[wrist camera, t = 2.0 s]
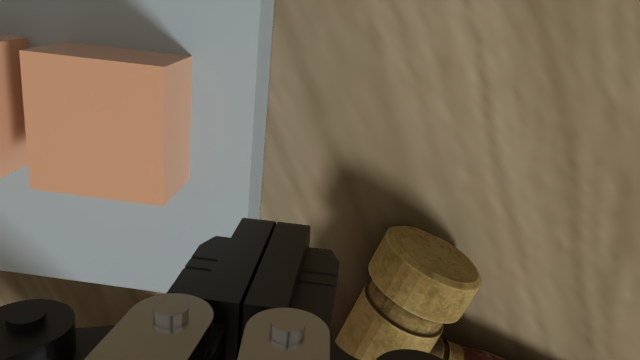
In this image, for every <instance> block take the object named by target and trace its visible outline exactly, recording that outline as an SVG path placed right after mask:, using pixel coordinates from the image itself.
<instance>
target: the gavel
mask: <svg viewBox="0 0 640 360" xmlns="http://www.w3.org/2000/svg"><path fill="white" fill-rule="evenodd" d="M368 270H369V274H370V276H371V278H372V280H371V281H369V282H367V283H366V285H365V287H364V288H363V290H362V292H361V294H360V296H359V298H358V299H357V301H356V303H355V305H354V307H353V308H352V310H351V312H350V314H349V316H348V318H347V319H346V321H345V323H344V325H343V327H342V329H341V330H340V332H339V334H338V336H337V338H336V339H335V342H336V344H337V345H338V346H339V347H340V348H341V349H342V350H343V351H345V352H346V353H348V354H349V355H351V356H353V357H355V358H357V359H359V360H376V359H377V358H378V357H379V356H381V355H382V354H384V353H386V352H389V351H393V350H399V349H412V350H419V351H424V352H427V353H430V354H433V355H435V356H438V357H440V358H441V359H443V360H507V359H504V358H502V357H499V356H497V355H494V354H492V353H489V352H487V351H484V350H480V349H475V348H471V347H466V346H461V345H457V344H455V343H452V342H450V341H447V340H443V339H442V338H441V337H440V335H441V334H442V332H443V328H444V327H443V323H444V324H449V323H455V322H456V321H458V320H459V319H460V317H461V316H462V314H463V313H464V311H465V310H466V308H467V307H468V305H469V303H470V302H471V300H472V299H473V297H474V296H475V294H476V292H477V291H478V289H479V288H480V286H481V282H482V280H481V277H480V275H479V273H478V271H477V269H476V267H475V266H474V264H473V263H472V262H471V261H470V260H469V259H468V258H467V257H466V256H465V255H464V254H463V253H462V252H461V251H459V250H458V249H457V248H455V247H454V246H453V245H451V244H450V243H448V242H447V241H445V240H443V239H441V238H439V237H436V236H434V235H432V234H430V233H428V232H425V231H423V230H421V229H419V228H415V227H410V226H394V227H390V228H389V229H388V230H387V232H386V233H385V235H384V237H383V239H382V241H381V243H380V244H379V246H378V248H377V250H376V252H375V254H374V255H373V257H372V259H371V261H370V263H369V266H368Z"/></svg>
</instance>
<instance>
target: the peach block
mask: <svg viewBox="0 0 640 360" xmlns="http://www.w3.org/2000/svg"><path fill="white" fill-rule="evenodd" d="M23 49H28V37H21V36H13V35H4V34H0V179H1V178H3V177H5V176H7V175H9V174H11V173H13V172H14V171H16V170H18V169H20V168H22V167H24V166H26V165H28V157H27V144H26V132H25V119H24V106H23V93H22V80H21V68H20V55H19V50H23Z"/></svg>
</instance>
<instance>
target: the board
mask: <svg viewBox="0 0 640 360" xmlns="http://www.w3.org/2000/svg"><path fill="white" fill-rule="evenodd" d="M273 13H274V0H0V34H4V35H13V36H21V37H28V48H33V47H38V46H44V45H49V44H54V43H60V42H74V43H83V44H92V45H101V46H109V47H118V48H127V49H136V50H145V51H153V52H162V53H171V54H180V55H189V56H192V88H191V132H190V176H189V180H188V181H187V182H186V183H185V184H184V185H183V187H182V188H181V189H180V190H179V191H178V192H177V193H176V194H175V195H174V196H173V197H172V198H171V199H170V200H169V201H168V202H167V203H166V205H165V206H157V205H150V204H142V203H134V202H126V201H119V200H111V199H103V198H95V197H87V196H80V195H72V194H64V193H56V192H48V191H41V190H33V189H30V183H29V170H28V165H26V166H24V167H22V168H20V169H18V170H16V171H14V172H13V173H11V174H9V175H7V176H5V177H3V178H1V179H0V270H1V271H9V272H16V273H23V274H31V275H38V276H45V277H53V278H60V279H67V280H74V281H82V282H89V283H96V284H104V285H111V286H118V287H126V288H133V289H140V290H148V291H155V292H162V293H167V292H168V290H169V289H170V287H171V286H172V284H173V283H174V281H175V280H176V279H177V277H178V276H179V274H180V273H181V271H182V270H183V269H185V265H186V264H187V262H188V261H189V260H190V259H191V258H192V255H193V254H194V252H195V251H196V249H197V248H198V246H199V245H200V244H202V243H204V242H206V241H207V240H209V239H211V238H213V237H215V236H221V237H229V238H231V237H232V235H233V233H234V231H235V230H236V228H237V226H238V225H239V223H240V221H241V219H242V218H251V219H260V204H261V189H262V175H263V160H264V145H265V131H266V116H267V101H268V87H269V72H270V57H271V43H272V28H273Z"/></svg>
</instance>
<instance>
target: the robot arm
mask: <svg viewBox="0 0 640 360" xmlns="http://www.w3.org/2000/svg"><path fill="white" fill-rule="evenodd" d="M309 242H310V226H309V225H300V224H292V223H284V222H277V224H276V222H275V221H267V220H259V219H251V218H242V219H241V221H240V223H239V225H238V226H237V228H236V230H235V231H234V233H233V235H232V237H231V238H229V237H221V236H215V237H213V238H211V239H209V240H207V241H206V242H204V243H202V244H200V245H199V246H198V248H197V249H196V251H195V252H194V254H193V255H192V258H191V259H190V260H189V261H188V262H187V264H186V265H185V269H183V270H182V271H181V273H180V274H179V276H178V277H177V279H176V280H175V281H174V283H173V284H172V286H171V287H170V289H169V290H168V292H167V293H166V294H160V295H156V296H152V297H149V298H146V299H144V300H142V301H140V302H138V303H137V304H135V305H134V306H133V307H132V308H131V309H130V310H129V311H128V312H127V313H126V314H125V315H124V317H123V318H122V319H121V320H120V321H119V322H118V323H117V324H116V325H115V326H106V327H90V328H75V314H74V311H73V310H72V309H71V308H70V307H69V306H68V305H66V304H64V303H61V302H58V301H54V300H45V299H33V300H24V301H19V302H15V303H11V304H7V305H4V306H1V307H0V360H359V359H357V358H355V357H353V356H351V355H349V354H348V353H346V352H345V351H343V350H342V349H341V348H340V347H339V346H338V345H337V344H336V342H335V341H334V339H333V337H332V334H331V328H332V320H333V312H334V303H335V295H336V286H337V278H338V269H339V261H338V260H337V258H336V257H335V255H334V254H333V252H332V251H331V250H326V249H318V248H310V247H309ZM376 360H443V359H441V358H440V357H438V356H435V355H433V354H430V353H427V352H424V351H419V350H412V349H399V350H393V351H389V352H386V353H384V354H382V355H381V356H379V357H378V358H377V359H376Z"/></svg>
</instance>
